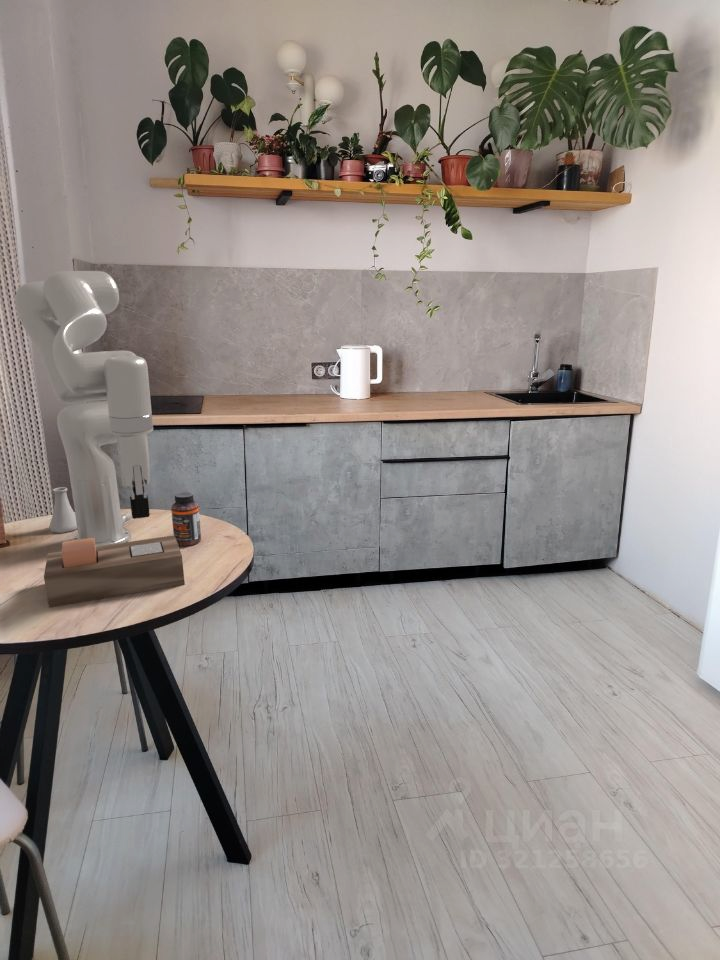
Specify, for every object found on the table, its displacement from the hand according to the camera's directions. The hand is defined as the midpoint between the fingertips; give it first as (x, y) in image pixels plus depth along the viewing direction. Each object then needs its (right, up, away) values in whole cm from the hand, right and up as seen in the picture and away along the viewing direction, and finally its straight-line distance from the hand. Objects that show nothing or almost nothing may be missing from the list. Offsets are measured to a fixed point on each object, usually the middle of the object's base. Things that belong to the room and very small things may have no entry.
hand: (140, 516), depth 130 cm
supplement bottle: (+4, -7, +22) cm, 23 cm away
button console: (-5, -13, +1) cm, 14 cm away
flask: (-29, -5, +32) cm, 43 cm away
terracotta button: (-10, -10, -2) cm, 15 cm away
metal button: (+1, -11, +2) cm, 11 cm away
